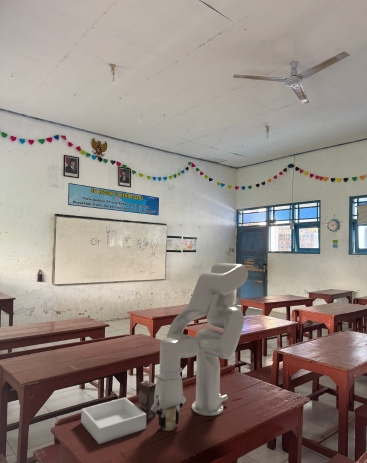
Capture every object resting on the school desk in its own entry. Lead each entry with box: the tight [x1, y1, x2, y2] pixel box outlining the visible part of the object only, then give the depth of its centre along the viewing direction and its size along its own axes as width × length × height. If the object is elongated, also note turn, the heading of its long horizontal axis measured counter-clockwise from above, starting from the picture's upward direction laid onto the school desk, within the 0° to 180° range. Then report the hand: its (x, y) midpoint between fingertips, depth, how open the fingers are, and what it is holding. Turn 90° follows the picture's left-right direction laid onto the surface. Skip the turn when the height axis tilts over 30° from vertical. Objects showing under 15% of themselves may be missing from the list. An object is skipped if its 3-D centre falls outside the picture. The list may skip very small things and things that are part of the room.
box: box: [137, 380, 157, 420], centre depth 132 cm, size 6×4×12 cm
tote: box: [80, 397, 147, 445], centre depth 124 cm, size 18×17×5 cm
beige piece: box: [161, 406, 177, 432], centre depth 124 cm, size 5×5×7 cm
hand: (168, 424), depth 123 cm, fingers closed on beige piece, 5 cm apart
